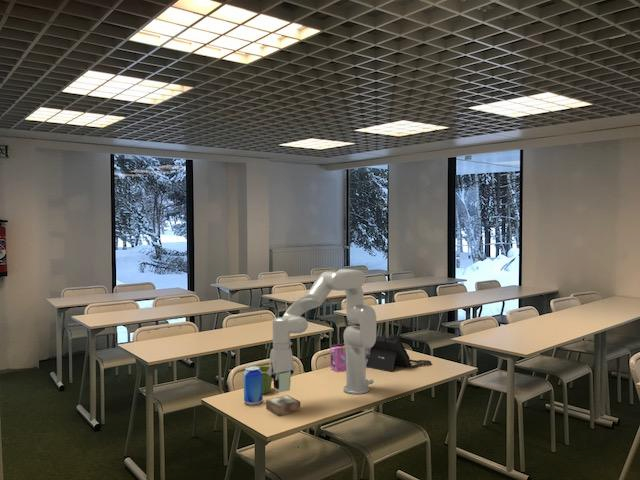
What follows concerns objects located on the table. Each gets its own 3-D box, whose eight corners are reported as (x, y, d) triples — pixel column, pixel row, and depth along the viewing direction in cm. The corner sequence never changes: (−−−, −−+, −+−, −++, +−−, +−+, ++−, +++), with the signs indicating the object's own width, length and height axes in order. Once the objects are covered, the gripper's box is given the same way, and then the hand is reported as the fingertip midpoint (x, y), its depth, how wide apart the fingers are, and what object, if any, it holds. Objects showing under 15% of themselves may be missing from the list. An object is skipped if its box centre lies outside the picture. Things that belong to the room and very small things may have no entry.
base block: (287, 403, 234) (287, 394, 234) (300, 410, 225) (300, 401, 225) (266, 408, 228) (266, 399, 228) (278, 416, 219) (278, 406, 219)
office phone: (433, 363, 295) (433, 329, 295) (407, 375, 274) (407, 337, 273) (391, 355, 315) (390, 323, 314) (363, 365, 293) (363, 330, 293)
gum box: (335, 373, 282) (334, 348, 282) (327, 369, 289) (327, 345, 289) (371, 366, 294) (370, 342, 293) (363, 363, 301) (362, 340, 300)
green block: (284, 387, 229) (283, 369, 229) (289, 390, 225) (289, 372, 225) (274, 389, 227) (274, 371, 226) (280, 392, 222) (279, 374, 222)
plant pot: (261, 397, 244) (261, 373, 244) (246, 392, 252) (245, 369, 252) (280, 391, 252) (279, 368, 252) (264, 386, 261) (264, 364, 260)
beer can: (247, 406, 231) (246, 371, 231) (242, 401, 239) (241, 367, 239) (264, 403, 235) (263, 369, 234) (259, 398, 242) (258, 364, 242)
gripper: (293, 341, 234) (294, 381, 234) (260, 347, 224) (260, 388, 224) (302, 344, 227) (302, 385, 228) (268, 350, 218) (269, 392, 218)
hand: (282, 386), depth 226 cm, fingers closed on green block, 5 cm apart
